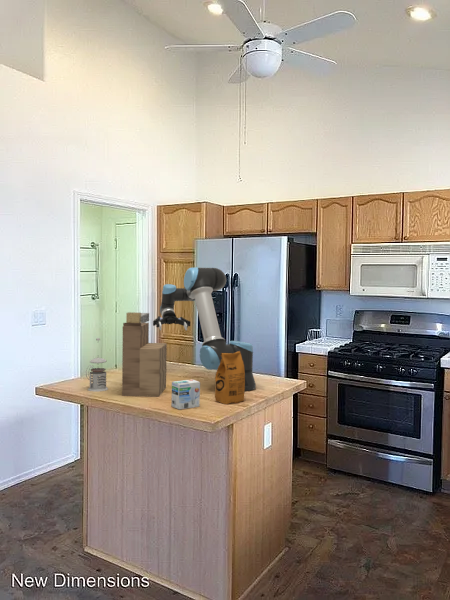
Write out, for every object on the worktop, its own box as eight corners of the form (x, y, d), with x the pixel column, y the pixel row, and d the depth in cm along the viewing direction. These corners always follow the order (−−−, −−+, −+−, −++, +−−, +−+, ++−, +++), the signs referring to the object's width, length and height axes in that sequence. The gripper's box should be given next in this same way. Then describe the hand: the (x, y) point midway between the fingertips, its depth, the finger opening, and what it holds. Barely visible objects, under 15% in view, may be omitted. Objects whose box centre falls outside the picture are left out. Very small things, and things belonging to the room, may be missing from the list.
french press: (112, 388, 253) (112, 337, 252) (94, 393, 243) (94, 340, 242) (98, 386, 258) (98, 336, 257) (80, 390, 249) (80, 338, 247)
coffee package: (211, 400, 232) (212, 351, 231) (234, 397, 239) (234, 349, 238) (224, 405, 224) (225, 354, 223) (247, 401, 231) (248, 352, 230)
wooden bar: (139, 320, 268) (139, 308, 268) (151, 320, 268) (151, 309, 267) (126, 325, 240) (126, 312, 240) (139, 326, 240) (139, 313, 239)
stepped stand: (132, 386, 258) (132, 319, 257) (166, 387, 258) (166, 320, 256) (122, 395, 239) (122, 323, 237) (158, 396, 238) (159, 324, 236)
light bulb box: (178, 410, 215) (179, 384, 215) (170, 406, 221) (171, 381, 220) (200, 406, 222) (200, 381, 221) (191, 403, 227) (192, 378, 227)
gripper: (190, 322, 297) (196, 334, 277) (146, 322, 291) (149, 334, 271) (191, 310, 295) (197, 321, 275) (147, 309, 289) (150, 320, 269)
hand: (173, 328), depth 273 cm, fingers open, 13 cm apart
